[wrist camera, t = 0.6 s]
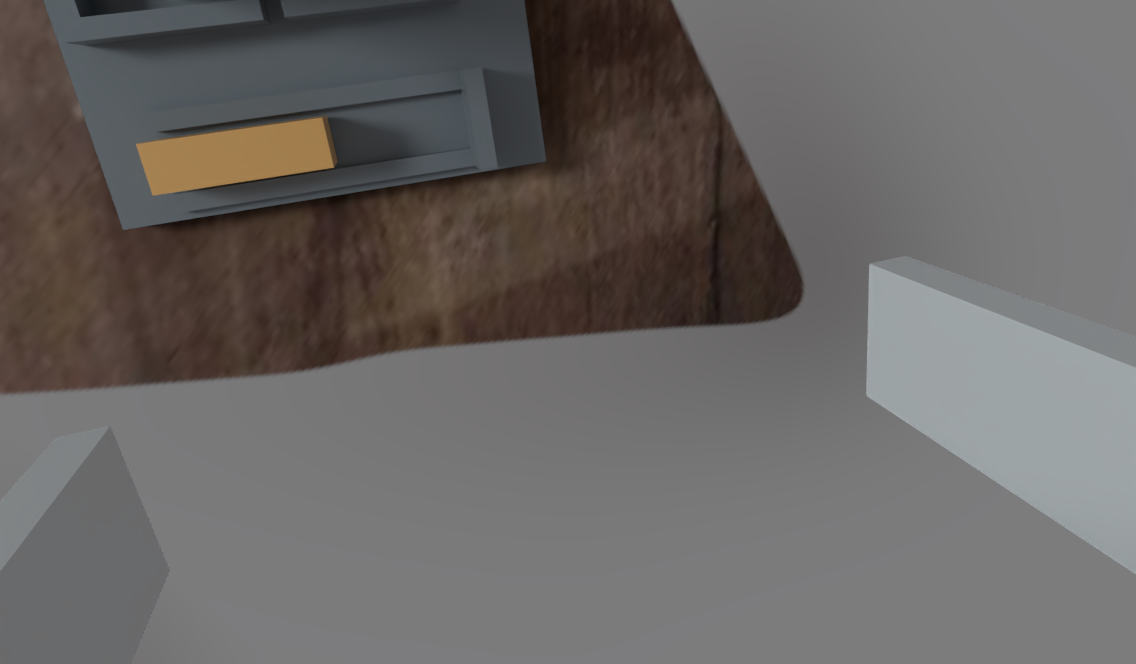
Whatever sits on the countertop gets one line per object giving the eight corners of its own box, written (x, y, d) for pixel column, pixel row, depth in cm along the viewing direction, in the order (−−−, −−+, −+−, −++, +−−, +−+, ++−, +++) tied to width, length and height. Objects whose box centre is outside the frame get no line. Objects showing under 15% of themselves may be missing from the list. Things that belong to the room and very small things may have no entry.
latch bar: (156, 139, 30) (135, 143, 28) (326, 115, 32) (322, 117, 29) (171, 186, 31) (152, 195, 29) (337, 161, 32) (333, 167, 30)
